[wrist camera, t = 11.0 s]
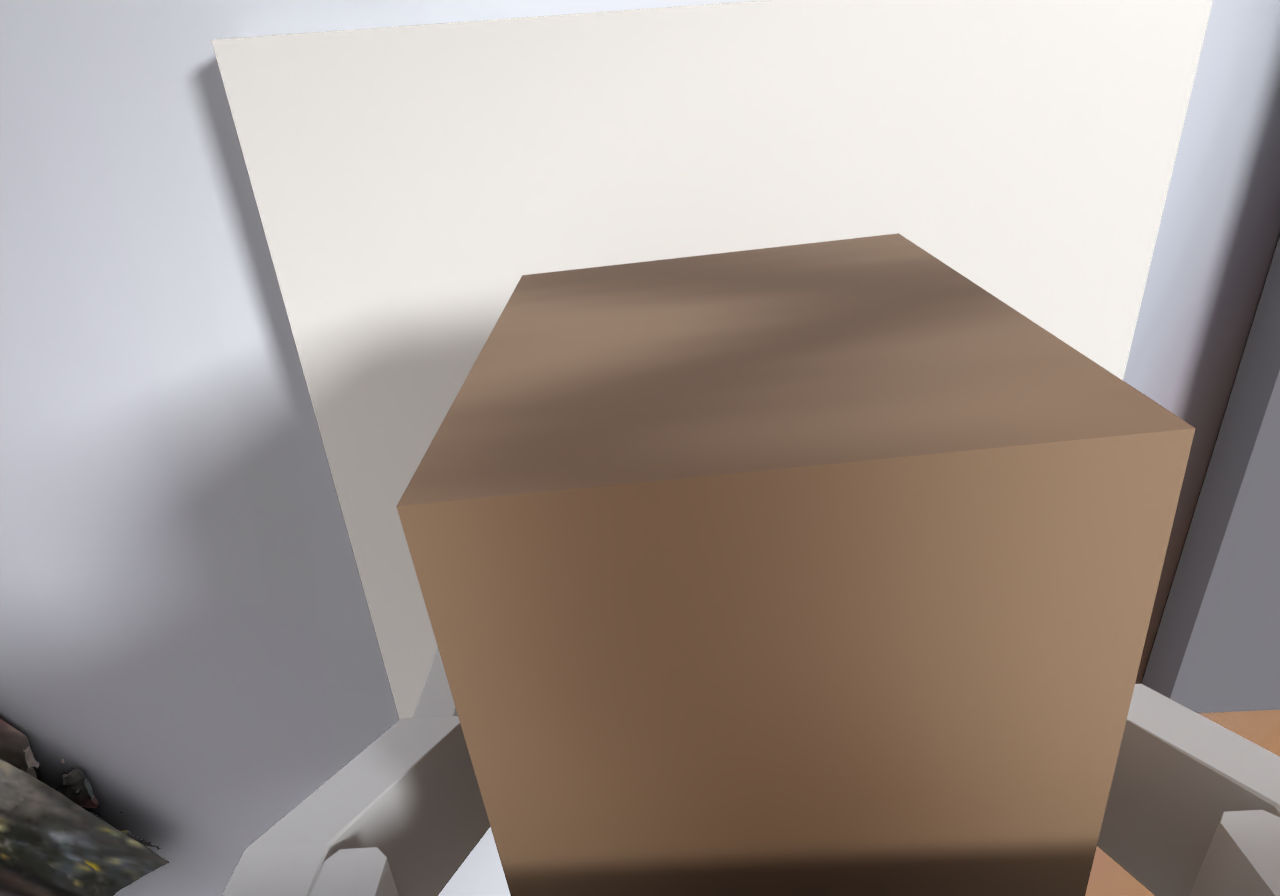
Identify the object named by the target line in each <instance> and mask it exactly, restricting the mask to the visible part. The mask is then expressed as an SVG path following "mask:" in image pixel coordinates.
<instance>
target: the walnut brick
mask: <svg viewBox="0 0 1280 896" xmlns="http://www.w3.org/2000/svg"><path fill="white" fill-rule="evenodd" d="M1194 433H1195V428H1194V427H1193V426H1191V425H1190V424H1188V423H1187V422H1185V421H1184V420H1182V419H1181V418H1179V417H1178V416H1176V415H1174V414H1173V413H1171V412H1170V411H1168V410H1167V409H1165V408H1164V407H1162V406H1161V405H1159V404H1158V403H1156V402H1155V401H1153V400H1152V399H1150V398H1149V397H1147V396H1146V395H1144V394H1142V393H1141V392H1139V391H1138V390H1136V389H1135V388H1133V387H1132V386H1130V385H1129V384H1127V383H1126V382H1124V381H1123V380H1121V379H1120V378H1118V377H1117V376H1115V375H1114V374H1112V373H1110V372H1109V371H1107V370H1106V369H1104V368H1103V367H1101V366H1100V365H1098V364H1097V363H1095V362H1094V361H1092V360H1091V359H1089V358H1088V357H1086V356H1085V355H1083V354H1082V353H1080V352H1079V351H1077V350H1075V349H1074V348H1072V347H1071V346H1069V345H1068V344H1066V343H1065V342H1063V341H1062V340H1060V339H1059V338H1057V337H1056V336H1054V335H1053V334H1051V333H1050V332H1048V331H1047V330H1045V329H1043V328H1042V327H1040V326H1039V325H1037V324H1036V323H1034V322H1033V321H1031V320H1030V319H1028V318H1027V317H1025V316H1024V315H1022V314H1021V313H1019V312H1018V311H1016V310H1015V309H1013V308H1011V307H1010V306H1008V305H1007V304H1005V303H1004V302H1002V301H1001V300H999V299H998V298H996V297H995V296H993V295H992V294H990V293H989V292H987V291H986V290H984V289H983V288H981V287H980V286H978V285H976V284H975V283H973V282H972V281H970V280H969V279H967V278H966V277H964V276H963V275H961V274H960V273H958V272H957V271H955V270H954V269H952V268H951V267H949V266H948V265H946V264H944V263H943V262H941V261H940V260H938V259H937V258H935V257H934V256H932V255H931V254H929V253H928V252H926V251H925V250H923V249H922V248H920V247H919V246H917V245H916V244H914V243H913V242H911V241H909V240H908V239H906V238H905V237H903V236H902V235H900V234H899V233H898V234H889V235H880V236H871V237H862V238H853V239H844V240H835V241H826V242H817V243H808V244H799V245H790V246H781V247H772V248H763V249H754V250H745V251H736V252H727V253H718V254H709V255H700V256H691V257H682V258H673V259H664V260H655V261H646V262H637V263H628V264H619V265H610V266H601V267H592V268H583V269H574V270H565V271H556V272H547V273H538V274H529V275H522V277H521V279H520V280H519V282H518V284H517V286H516V288H515V290H514V291H513V293H512V295H511V297H510V299H509V301H508V302H507V304H506V306H505V308H504V310H503V312H502V313H501V315H500V317H499V319H498V321H497V323H496V324H495V326H494V328H493V330H492V332H491V334H490V335H489V337H488V339H487V341H486V343H485V345H484V346H483V348H482V350H481V352H480V354H479V356H478V357H477V359H476V361H475V363H474V365H473V367H472V368H471V370H470V372H469V374H468V376H467V378H466V379H465V381H464V383H463V385H462V387H461V389H460V390H459V392H458V394H457V396H456V398H455V400H454V401H453V403H452V405H451V407H450V409H449V411H448V412H447V414H446V416H445V418H444V420H443V422H442V423H441V425H440V427H439V429H438V431H437V433H436V435H435V436H434V438H433V440H432V442H431V444H430V446H429V447H428V449H427V451H426V453H425V455H424V457H423V458H422V460H421V462H420V464H419V466H418V468H417V469H416V471H415V473H414V475H413V477H412V479H411V480H410V482H409V484H408V486H407V488H406V490H405V491H404V493H403V495H402V497H401V499H400V501H399V502H398V504H397V506H396V507H397V510H398V514H399V517H400V520H401V524H402V527H403V531H404V534H405V537H406V541H407V544H408V548H409V551H410V554H411V558H412V561H413V565H414V568H415V571H416V575H417V578H418V582H419V585H420V588H421V592H422V595H423V599H424V602H425V605H426V609H427V612H428V616H429V619H430V622H431V626H432V629H433V632H434V636H435V639H436V643H437V646H438V649H439V653H440V656H441V660H442V663H443V666H444V670H445V673H446V677H447V680H448V683H449V687H450V690H451V694H452V697H453V700H454V704H455V707H456V711H457V714H458V717H459V721H460V724H461V728H462V731H463V734H464V738H465V741H466V745H467V748H468V751H469V755H470V758H471V762H472V765H473V768H474V772H475V775H476V779H477V782H478V785H479V789H480V792H481V796H482V799H483V802H484V806H485V809H486V812H487V816H488V819H489V823H490V826H491V829H492V833H493V836H494V840H495V843H496V846H497V850H498V853H499V857H500V860H501V863H502V867H503V870H504V874H505V877H506V880H507V884H508V887H509V891H510V894H511V896H1085V893H1086V889H1087V885H1088V881H1089V876H1090V872H1091V868H1092V864H1093V859H1094V855H1095V851H1096V847H1097V843H1098V838H1099V834H1100V830H1101V826H1102V821H1103V817H1104V813H1105V809H1106V805H1107V800H1108V796H1109V792H1110V788H1111V783H1112V779H1113V775H1114V771H1115V766H1116V762H1117V758H1118V754H1119V750H1120V745H1121V741H1122V737H1123V733H1124V728H1125V724H1126V720H1127V716H1128V712H1129V707H1130V703H1131V699H1132V695H1133V690H1134V686H1135V682H1136V678H1137V674H1138V669H1139V665H1140V661H1141V657H1142V652H1143V648H1144V644H1145V640H1146V635H1147V631H1148V627H1149V623H1150V619H1151V614H1152V610H1153V606H1154V602H1155V597H1156V593H1157V589H1158V585H1159V581H1160V576H1161V572H1162V568H1163V564H1164V559H1165V555H1166V551H1167V547H1168V542H1169V538H1170V534H1171V530H1172V526H1173V521H1174V517H1175V513H1176V509H1177V504H1178V500H1179V496H1180V492H1181V488H1182V483H1183V479H1184V475H1185V471H1186V466H1187V462H1188V458H1189V454H1190V449H1191V445H1192V441H1193V437H1194Z"/></svg>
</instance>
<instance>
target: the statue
mask: <svg viewBox="0 0 1280 896" xmlns="http://www.w3.org/2000/svg"><path fill="white" fill-rule="evenodd" d="M61 763H63V764H65V761H64V759H63V758H62V760H61ZM34 766H36V767H37V768H38V767H39V763H38V762H37V761H36V760H35V759H34V757H33V753H32V751H31V748H30V745H29V740H28V739H27V736H26V735H25V734H23V733H22V732H20V731H18V730H17V729H15V728H14V727H12V726H11V725H9V724H8V723H6V722H5V721H3V720H2V719H1V718H0V896H113V895H115V894H116V893H117V892H118V891H119V890H120V889H122V888H124V887H126V886H128V885H129V884H131V883H133V882H134V881H136V880H138V879H139V878H141V877H142V876H144V875H146V874H148V873H150V872H152V871H154V870H155V869H157V868H159V867H161V866H163V865H165V864H167V863H169V862H168V861H166V860H165V859H163V858H162V857H160V856H159V855H157V854H156V853H154V852H153V851H151V850H150V849H148V848H147V847H145V846H146V845H147V846H152V847H156V848H157V849H158V850H159V849H161V848H159V847H158V846H155V845H152V844H151V842H147V841H146V840H141V838H137V837H136V836H134V835H133V834H132V833H131V832H130V830H120V831H119V830H118V829H116V828H114V827H113V826H111V825H110V824H108V823H106V822H105V821H104V820H103V819H102V818H100V817H99V816H97V815H96V814H94V813H93V812H88V811H87V810H85V809H83V808H82V807H87V808H97V806H98V801H97V800H96V798H95V797H94V795H93V793H92V787H91V784H90V782H89V781H88V780H87V778H86V776H85V773H84V772H83V771H82V770H80V769H73V770H72V771H71V772H70V773H69V774H63V775H62V778H63V785H66V788H63V789H56V788H51V787H50V786H48V785H46V784H45V783H43V782H41V781H39V780H38V779H37V776H36V772H35V770H34V768H32V767H34ZM79 791H81V793H79ZM76 793H78V794H76ZM121 813H122V812H121ZM137 841H139V842H140V843H139V842H137ZM141 843H142V844H144V845H142V844H141Z"/></svg>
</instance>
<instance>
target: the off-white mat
mask: <svg viewBox="0 0 1280 896" xmlns="http://www.w3.org/2000/svg"><path fill="white" fill-rule="evenodd" d="M1212 3H1213V0H764V1H750V2H736V3H722V4H708V5H694V6H680V7H666V8H652V9H638V10H624V11H610V12H596V13H582V14H567V15H553V16H539V17H525V18H511V19H497V20H483V21H469V22H455V23H441V24H427V25H413V26H399V27H385V28H371V29H357V30H343V31H329V32H315V33H301V34H287V35H272V36H258V37H244V38H230V39H216V40H211V41H212V44H213V48H214V52H215V55H216V59H217V62H218V66H219V70H220V73H221V77H222V80H223V84H224V88H225V91H226V95H227V98H228V102H229V106H230V109H231V113H232V117H233V120H234V124H235V127H236V131H237V135H238V138H239V142H240V145H241V149H242V153H243V156H244V160H245V163H246V167H247V171H248V174H249V178H250V182H251V185H252V189H253V192H254V196H255V200H256V203H257V207H258V210H259V214H260V218H261V221H262V225H263V228H264V232H265V236H266V239H267V243H268V247H269V250H270V254H271V257H272V261H273V265H274V268H275V272H276V275H277V279H278V283H279V286H280V290H281V294H282V297H283V301H284V304H285V308H286V312H287V315H288V319H289V322H290V326H291V330H292V333H293V337H294V340H295V344H296V348H297V351H298V355H299V359H300V362H301V366H302V369H303V373H304V377H305V380H306V384H307V387H308V391H309V395H310V398H311V402H312V405H313V409H314V413H315V416H316V420H317V424H318V427H319V431H320V434H321V438H322V442H323V445H324V449H325V452H326V456H327V460H328V463H329V467H330V470H331V474H332V478H333V481H334V485H335V489H336V492H337V496H338V499H339V503H340V507H341V510H342V514H343V517H344V521H345V525H346V528H347V532H348V535H349V539H350V543H351V546H352V550H353V554H354V557H355V561H356V564H357V568H358V572H359V575H360V579H361V582H362V586H363V590H364V593H365V597H366V600H367V604H368V608H369V611H370V615H371V619H372V622H373V626H374V629H375V633H376V637H377V640H378V644H379V647H380V651H381V655H382V658H383V662H384V665H385V669H386V673H387V676H388V680H389V684H390V687H391V691H392V694H393V698H394V702H395V705H396V709H397V712H398V716H399V720H400V719H402V718H412V717H413V715H414V712H415V709H416V706H417V703H418V700H419V697H420V695H421V692H422V689H423V686H424V683H425V680H426V677H427V674H428V672H429V669H430V666H431V663H432V660H433V657H434V654H435V652H436V649H437V643H436V639H435V636H434V632H433V629H432V626H431V622H430V619H429V616H428V612H427V609H426V605H425V602H424V599H423V595H422V592H421V588H420V585H419V582H418V578H417V575H416V571H415V568H414V565H413V561H412V558H411V554H410V551H409V548H408V544H407V541H406V537H405V534H404V531H403V527H402V524H401V520H400V517H399V514H398V510H397V507H396V506H397V504H398V502H399V501H400V499H401V497H402V495H403V493H404V491H405V490H406V488H407V486H408V484H409V482H410V480H411V479H412V477H413V475H414V473H415V471H416V469H417V468H418V466H419V464H420V462H421V460H422V458H423V457H424V455H425V453H426V451H427V449H428V447H429V446H430V444H431V442H432V440H433V438H434V436H435V435H436V433H437V431H438V429H439V427H440V425H441V423H442V422H443V420H444V418H445V416H446V414H447V412H448V411H449V409H450V407H451V405H452V403H453V401H454V400H455V398H456V396H457V394H458V392H459V390H460V389H461V387H462V385H463V383H464V381H465V379H466V378H467V376H468V374H469V372H470V370H471V368H472V367H473V365H474V363H475V361H476V359H477V357H478V356H479V354H480V352H481V350H482V348H483V346H484V345H485V343H486V341H487V339H488V337H489V335H490V334H491V332H492V330H493V328H494V326H495V324H496V323H497V321H498V319H499V317H500V315H501V313H502V312H503V310H504V308H505V306H506V304H507V302H508V301H509V299H510V297H511V295H512V293H513V291H514V290H515V288H516V286H517V284H518V282H519V280H520V279H521V277H522V275H529V274H538V273H547V272H556V271H565V270H574V269H583V268H592V267H601V266H610V265H619V264H628V263H637V262H646V261H655V260H664V259H673V258H682V257H691V256H700V255H709V254H718V253H727V252H736V251H745V250H754V249H763V248H772V247H781V246H790V245H799V244H808V243H817V242H826V241H835V240H844V239H853V238H862V237H871V236H880V235H889V234H898V233H899V234H900V235H902V236H903V237H905V238H906V239H908V240H909V241H911V242H913V243H914V244H916V245H917V246H919V247H920V248H922V249H923V250H925V251H926V252H928V253H929V254H931V255H932V256H934V257H935V258H937V259H938V260H940V261H941V262H943V263H944V264H946V265H948V266H949V267H951V268H952V269H954V270H955V271H957V272H958V273H960V274H961V275H963V276H964V277H966V278H967V279H969V280H970V281H972V282H973V283H975V284H976V285H978V286H980V287H981V288H983V289H984V290H986V291H987V292H989V293H990V294H992V295H993V296H995V297H996V298H998V299H999V300H1001V301H1002V302H1004V303H1005V304H1007V305H1008V306H1010V307H1011V308H1013V309H1015V310H1016V311H1018V312H1019V313H1021V314H1022V315H1024V316H1025V317H1027V318H1028V319H1030V320H1031V321H1033V322H1034V323H1036V324H1037V325H1039V326H1040V327H1042V328H1043V329H1045V330H1047V331H1048V332H1050V333H1051V334H1053V335H1054V336H1056V337H1057V338H1059V339H1060V340H1062V341H1063V342H1065V343H1066V344H1068V345H1069V346H1071V347H1072V348H1074V349H1075V350H1077V351H1079V352H1080V353H1082V354H1083V355H1085V356H1086V357H1088V358H1089V359H1091V360H1092V361H1094V362H1095V363H1097V364H1098V365H1100V366H1101V367H1103V368H1104V369H1106V370H1107V371H1109V372H1110V373H1112V374H1114V375H1115V376H1117V377H1118V378H1120V379H1121V380H1123V377H1124V373H1125V369H1126V365H1127V361H1128V356H1129V352H1130V348H1131V344H1132V340H1133V335H1134V331H1135V327H1136V323H1137V318H1138V314H1139V310H1140V306H1141V302H1142V297H1143V293H1144V289H1145V285H1146V281H1147V276H1148V272H1149V268H1150V264H1151V260H1152V255H1153V251H1154V247H1155V243H1156V238H1157V234H1158V230H1159V226H1160V222H1161V217H1162V213H1163V209H1164V205H1165V201H1166V196H1167V192H1168V188H1169V184H1170V180H1171V175H1172V171H1173V167H1174V163H1175V159H1176V154H1177V150H1178V146H1179V142H1180V137H1181V133H1182V129H1183V125H1184V121H1185V116H1186V112H1187V108H1188V104H1189V100H1190V95H1191V91H1192V87H1193V83H1194V79H1195V74H1196V70H1197V66H1198V62H1199V58H1200V53H1201V49H1202V45H1203V41H1204V36H1205V32H1206V28H1207V24H1208V20H1209V15H1210V11H1211V7H1212Z"/></svg>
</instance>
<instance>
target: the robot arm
mask: <svg viewBox="0 0 1280 896" xmlns="http://www.w3.org/2000/svg"><path fill="white" fill-rule="evenodd" d="M489 827H490V823H489V819H488V816H487V812H486V809H485V806H484V802H483V799H482V796H481V792H480V789H479V785H478V782H477V779H476V775H475V772H474V768H473V765H472V762H471V758H470V755H469V751H468V748H467V745H466V741H465V738H464V734H463V731H462V728H461V724H460V721H459V717H458V714H457V711H456V707H455V704H454V700H453V697H452V694H451V690H450V687H449V683H448V680H447V677H446V673H445V670H444V666H443V663H442V660H441V656H440V653H439V649H438V646H437V649H436V652H435V654H434V657H433V660H432V663H431V666H430V669H429V672H428V674H427V677H426V680H425V683H424V686H423V689H422V692H421V695H420V697H419V700H418V703H417V706H416V709H415V712H414V715H413V717H412V718H402V719H400V720H399V721H398V722H397V723H395V724H394V725H393V726H392V727H391V728H389V729H388V730H387V731H386V732H385V733H383V734H382V735H381V736H380V737H379V738H377V739H376V740H375V741H374V742H373V743H371V744H370V745H369V746H368V747H367V748H365V749H364V750H363V751H362V752H361V753H359V754H358V755H357V756H356V757H355V758H354V759H352V760H351V761H350V762H349V763H348V764H346V765H345V766H344V767H343V768H342V769H340V770H339V771H338V772H337V773H336V774H334V775H333V776H332V777H331V778H330V779H328V780H327V781H326V782H325V783H324V784H322V785H321V786H320V787H319V788H318V789H316V790H315V791H314V792H313V793H312V794H310V795H309V796H308V797H307V798H306V799H304V800H303V801H302V802H301V803H300V804H299V805H297V806H296V807H295V808H294V809H293V810H291V811H290V812H289V813H288V814H287V815H285V816H284V817H283V818H282V819H281V820H279V821H278V822H277V823H276V824H275V825H273V826H272V827H271V828H270V829H269V830H267V831H266V832H265V833H264V834H263V835H261V836H260V837H259V838H258V839H257V840H255V841H254V842H253V843H252V844H251V845H249V846H248V847H247V848H246V849H245V850H244V852H243V854H242V856H241V858H240V860H239V862H238V864H237V866H236V868H235V870H234V872H233V874H232V876H231V878H230V880H229V882H228V884H227V886H226V888H225V890H224V892H223V894H222V896H438V895H439V893H440V892H441V891H442V889H443V888H444V887H445V885H446V884H447V883H448V881H449V880H450V879H451V877H452V876H453V875H454V873H455V872H456V871H457V870H458V868H459V867H460V866H461V864H462V863H463V862H464V860H465V859H466V858H467V856H468V855H469V854H470V852H471V851H472V850H473V848H474V847H475V846H476V845H477V843H478V842H479V841H480V839H481V838H482V837H483V835H484V834H485V833H486V831H487V830H488V829H489ZM1097 846H1098V847H1099V848H1100V849H1101V850H1103V851H1104V852H1105V853H1106V854H1107V855H1109V856H1110V857H1111V858H1112V859H1113V860H1114V861H1116V862H1117V863H1118V864H1119V865H1120V866H1121V867H1123V868H1124V869H1125V870H1126V871H1127V872H1128V873H1130V874H1131V875H1132V876H1133V877H1134V878H1135V879H1137V880H1138V881H1139V882H1140V883H1141V884H1142V885H1144V886H1145V887H1146V888H1147V889H1148V890H1149V891H1151V892H1152V893H1153V894H1154V895H1155V896H1280V757H1279V756H1277V755H1275V754H1273V753H1272V752H1270V751H1268V750H1266V749H1264V748H1262V747H1260V746H1258V745H1256V744H1255V743H1253V742H1251V741H1249V740H1247V739H1245V738H1243V737H1241V736H1239V735H1237V734H1236V733H1234V732H1232V731H1230V730H1228V729H1226V728H1224V727H1222V726H1220V725H1219V724H1217V723H1215V722H1213V721H1211V720H1209V719H1207V718H1205V717H1203V716H1202V715H1200V714H1198V713H1196V712H1194V711H1192V710H1190V709H1188V708H1186V707H1184V706H1183V705H1181V704H1179V703H1177V702H1175V701H1173V700H1171V699H1169V698H1167V697H1166V696H1164V695H1162V694H1160V693H1158V692H1156V691H1154V690H1152V689H1150V688H1149V687H1147V686H1145V685H1143V684H1135V686H1134V690H1133V695H1132V699H1131V703H1130V707H1129V712H1128V716H1127V720H1126V724H1125V728H1124V733H1123V737H1122V741H1121V745H1120V750H1119V754H1118V758H1117V762H1116V766H1115V771H1114V775H1113V779H1112V783H1111V788H1110V792H1109V796H1108V800H1107V805H1106V809H1105V813H1104V817H1103V821H1102V826H1101V830H1100V834H1099V838H1098V843H1097Z"/></svg>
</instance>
